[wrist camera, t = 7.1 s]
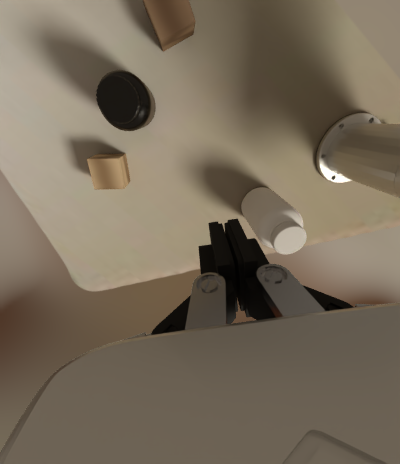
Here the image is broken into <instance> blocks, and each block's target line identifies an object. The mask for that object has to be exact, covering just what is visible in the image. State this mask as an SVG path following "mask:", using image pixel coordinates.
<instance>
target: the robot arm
mask: <svg viewBox="0 0 400 464" xmlns="http://www.w3.org/2000/svg"><path fill="white" fill-rule="evenodd" d="M316 164H317V168H318V170H319V172H320V174H321V175H322V176H323V177H324V178H325V179H327V180H329V181H331V182H335V183H344V182H349V181H351V180H353V181H355V182H358V183H361V184H363V185H366V186H369V187H371V188H374V189H377V190H380V191H382V192H385V193H388V194H390V195H393V196H396V197H398V198H400V124H382V123H381V121H380V120H379V119H378V118H377V117H376V116H374V115H372V114H368V113H356V114H351V115H349V116H346V117H344V118H342V119H341V120H339V121H338V122H336V123H335V124H334V125H333V126H332V127H331V128H330V129H329V130H328V131H327V133H326V134H325V135H324V137H323V138H322V141H321V143H320V145H319V148H318V151H317V156H316ZM209 230H210V238H211V245H204V246H199V256H200V268H201V275H199V276H198V277H197V278H196V279H195V280H194V282H193V286H192V292H191V295H190V296H189V297H188V298H187V299H186V300H185V301H184V302H183V303H182V304H180V305H179V306H178V307H177V308H176V309H175V310H174V311H173V312H172V313H171V314H170V315H168V316H167V317H166V318H165V319H164V320H163V321H162V322H161V323H160V324H158V325H157V326H156V328H155V329H154V330H153V331H152V333H150V334H147V335H146V333H142V334H139V335H136V336H133V337H130V338H127V339H124V340H122V341H118V342H114V343H110V344H107V345H104V346H101V347H99V348H96V349H93V350H91V351H89V352H87V353H85V354H82V355H80V356H78V357H76V358H75V359H73V360H71V361H69V362H68V363H66V364H65V365H64V366H62V367H60V368H59V369H58V370H57V371H56V372H55V373H53V374H52V375H51V376H50V377H49V378H48V380H47V381H46V382H45V383H44V384H43V385H42V387H41V388H40V389H39V391H38V392H37V393H36V395H35V396H34V398H33V399H32V401H31V402H30V404H29V405H28V407H27V408H26V410H25V412H24V413H23V415H22V416H21V418H20V419H19V421H18V423H17V424H16V426H15V428H14V429H13V431H12V433H11V434H10V436H9V438H8V440H7V441H6V443H5V445H4V447H3V448H2V450H1V452H0V464H400V303H391V304H381V305H365V304H355V307H353V306H351V305H350V304H348V303H346V302H344V301H342V300H339V299H337V298H334V297H331V296H329V295H326V294H324V293H321V292H319V291H316V290H314V289H311V288H308V287H306V286H303V285H301V284H300V282H299V281H298V280H297V279H296V278H295V277H294V276H293V275H292V274H291V272H290V271H289V270H287V269H286V268H285V267H283V266H281V265H276V264H269V262H268V260H267V259H266V257H265V255H264V253H263V251H262V249H261V248H260V246H259V244H258V242H257V240H256V239H255V238H253V239H247V237H246V235H245V233H244V231H243V229H242V227H241V225H240V223H239V221H238V219H232V220H228V223H225V232H224V229H223V225H222V224H218V222H212V223H209ZM237 299H238V302H239V305H240V309H241V311H244V310H245V313H246V317H253V318H254V319H256V320H255V321H248V322H241V323H233V324H231V323H232V322H233V321H234V319H235V318H236V312H237V311H238V305H237Z"/></svg>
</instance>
